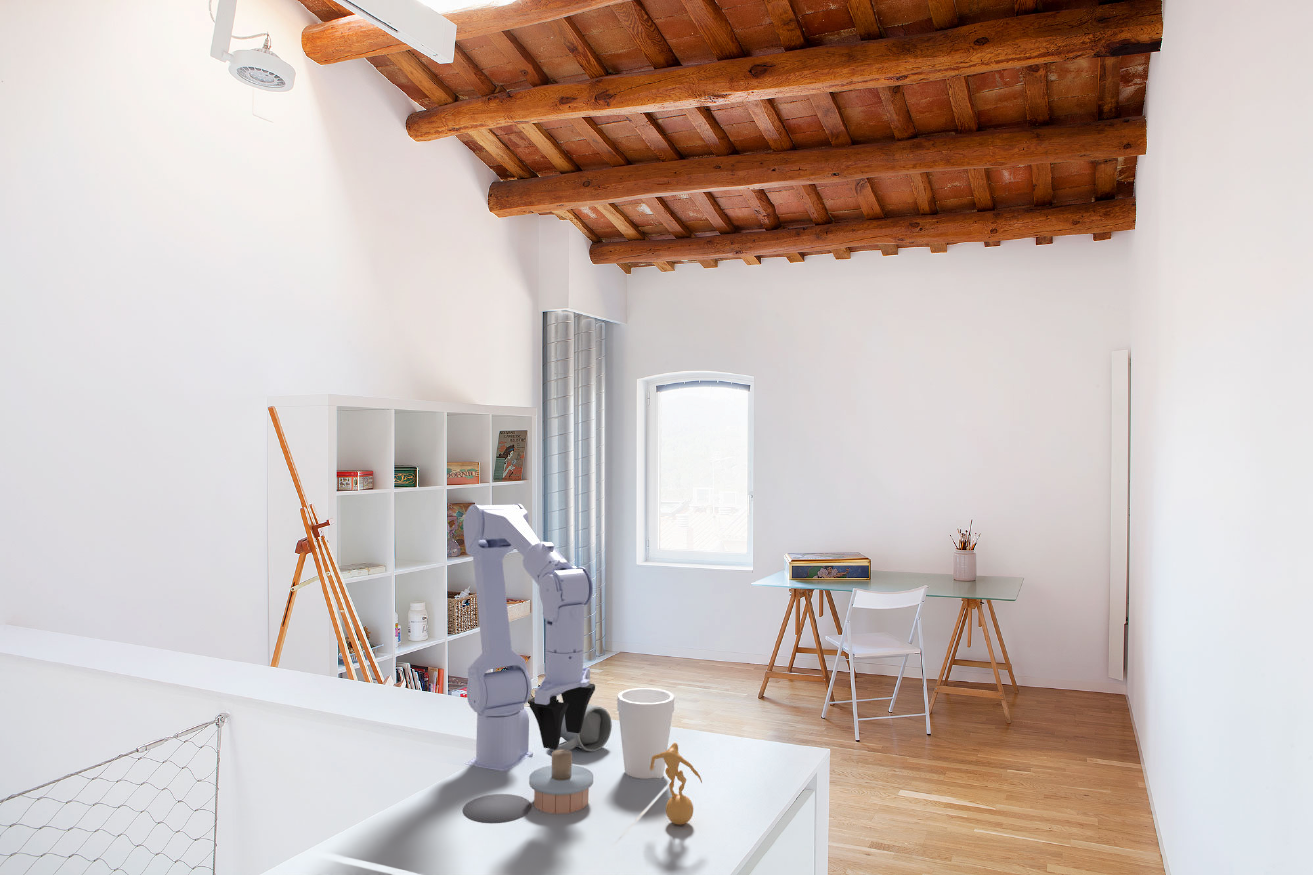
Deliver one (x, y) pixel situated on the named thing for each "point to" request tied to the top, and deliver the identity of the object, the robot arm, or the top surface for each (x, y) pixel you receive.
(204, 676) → the top surface
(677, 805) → the figurine
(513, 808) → the mat
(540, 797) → the bowl
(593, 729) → the ceramic mug
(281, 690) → the top surface
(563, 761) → the lid
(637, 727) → the foam cup
